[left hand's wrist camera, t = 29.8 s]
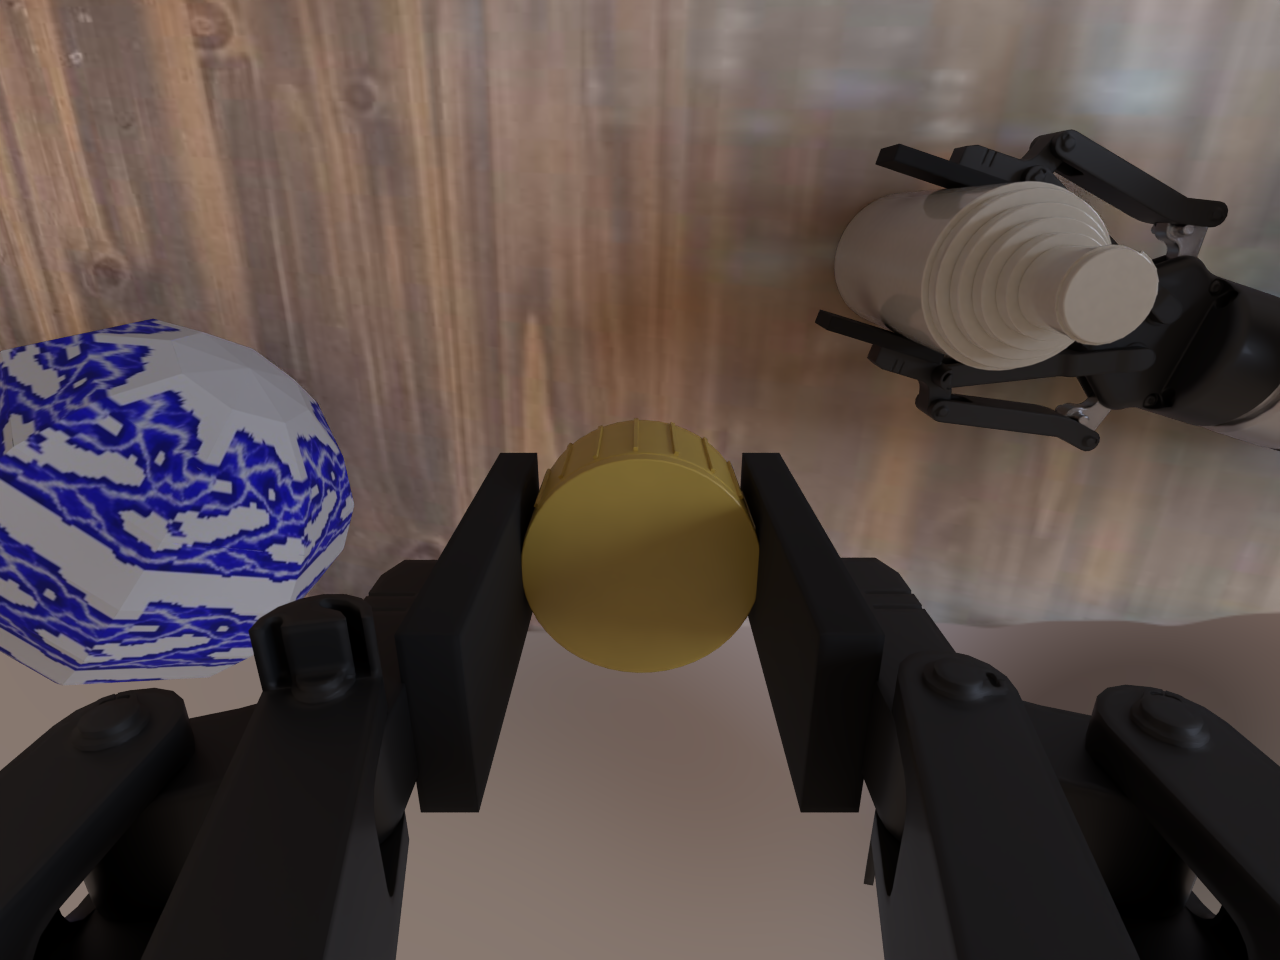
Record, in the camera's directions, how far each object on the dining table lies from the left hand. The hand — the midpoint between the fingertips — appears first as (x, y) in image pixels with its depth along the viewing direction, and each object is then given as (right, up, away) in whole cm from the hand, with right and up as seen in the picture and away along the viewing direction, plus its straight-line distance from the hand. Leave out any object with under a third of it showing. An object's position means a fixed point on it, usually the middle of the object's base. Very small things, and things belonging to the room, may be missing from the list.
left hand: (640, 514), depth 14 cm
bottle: (+16, +14, +28) cm, 35 cm away
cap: (0, -1, -2) cm, 2 cm away
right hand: (+11, +13, +21) cm, 27 cm away
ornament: (-27, +3, +32) cm, 42 cm away
